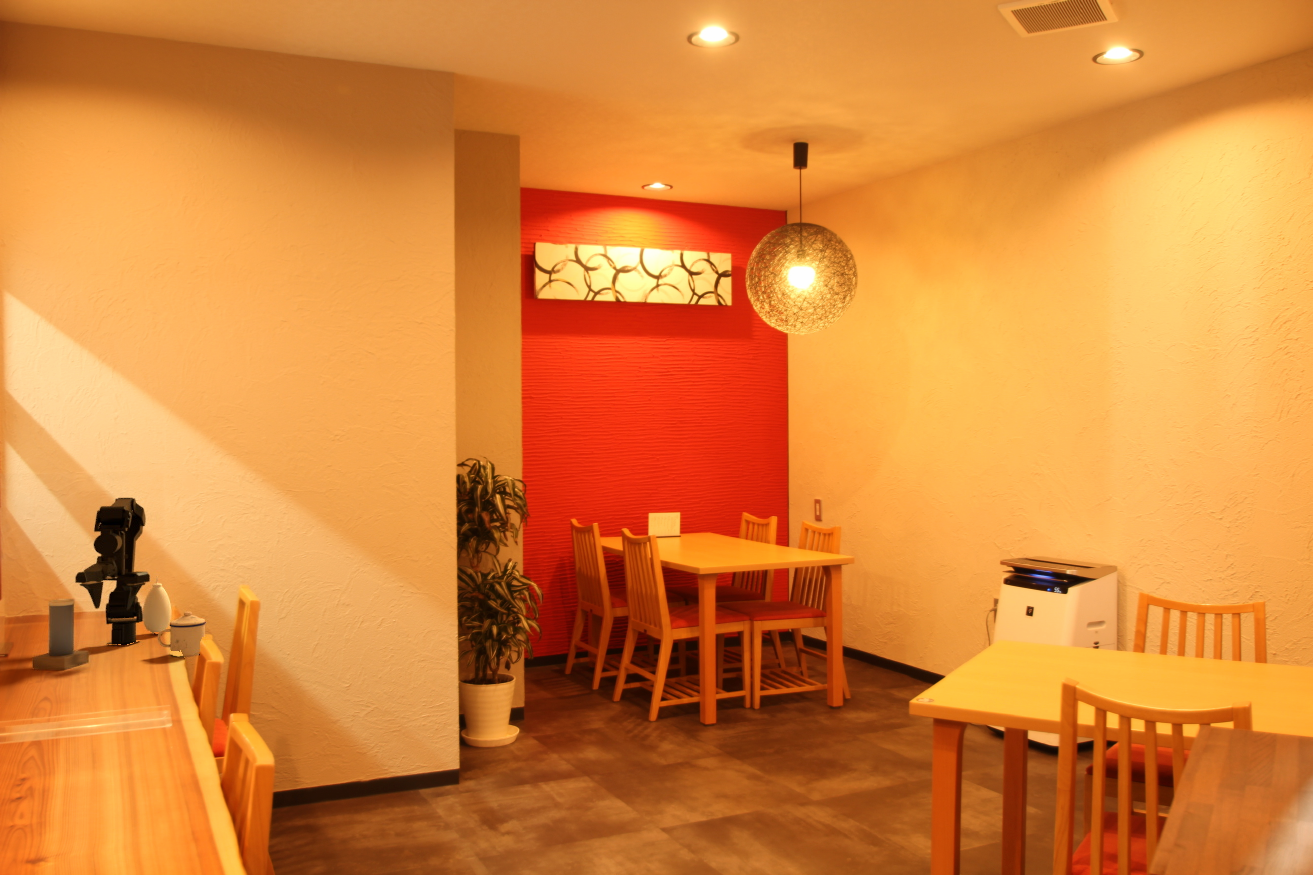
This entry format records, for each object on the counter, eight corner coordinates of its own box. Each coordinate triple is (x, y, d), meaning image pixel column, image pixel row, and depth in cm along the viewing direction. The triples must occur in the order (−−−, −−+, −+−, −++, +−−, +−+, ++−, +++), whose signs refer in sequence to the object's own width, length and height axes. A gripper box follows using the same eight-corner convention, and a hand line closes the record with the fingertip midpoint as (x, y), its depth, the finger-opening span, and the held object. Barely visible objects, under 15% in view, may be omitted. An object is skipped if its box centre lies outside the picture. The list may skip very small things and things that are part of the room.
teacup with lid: (204, 649, 280) (204, 608, 280) (206, 655, 272) (206, 613, 272) (157, 653, 274) (157, 611, 274) (157, 659, 266) (157, 616, 266)
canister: (66, 650, 263) (67, 597, 263) (78, 653, 260) (78, 599, 260) (43, 654, 258) (44, 600, 258) (55, 657, 255) (55, 602, 255)
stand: (57, 661, 264) (57, 649, 264) (88, 662, 263) (88, 650, 263) (32, 668, 255) (32, 657, 255) (64, 669, 254) (64, 658, 254)
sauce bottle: (143, 632, 303) (143, 574, 303) (171, 630, 306) (171, 572, 306) (141, 637, 296) (142, 577, 296) (170, 635, 299) (171, 576, 299)
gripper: (60, 554, 264) (59, 612, 263) (123, 555, 261) (122, 614, 260) (90, 550, 275) (89, 606, 274) (151, 551, 272) (150, 608, 271)
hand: (112, 608), depth 270 cm, fingers open, 9 cm apart
